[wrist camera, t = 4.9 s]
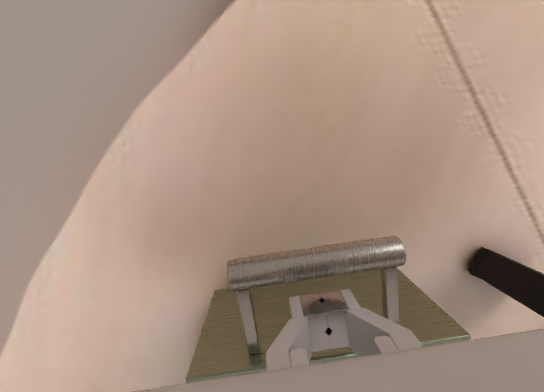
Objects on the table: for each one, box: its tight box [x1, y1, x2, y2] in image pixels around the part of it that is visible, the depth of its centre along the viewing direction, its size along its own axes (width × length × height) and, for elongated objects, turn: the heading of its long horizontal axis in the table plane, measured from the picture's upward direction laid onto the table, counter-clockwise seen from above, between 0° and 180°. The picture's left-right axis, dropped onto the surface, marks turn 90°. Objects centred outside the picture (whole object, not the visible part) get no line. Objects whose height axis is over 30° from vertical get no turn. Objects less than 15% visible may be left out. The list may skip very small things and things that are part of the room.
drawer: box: [186, 236, 470, 383], centre depth 16 cm, size 17×13×7 cm
